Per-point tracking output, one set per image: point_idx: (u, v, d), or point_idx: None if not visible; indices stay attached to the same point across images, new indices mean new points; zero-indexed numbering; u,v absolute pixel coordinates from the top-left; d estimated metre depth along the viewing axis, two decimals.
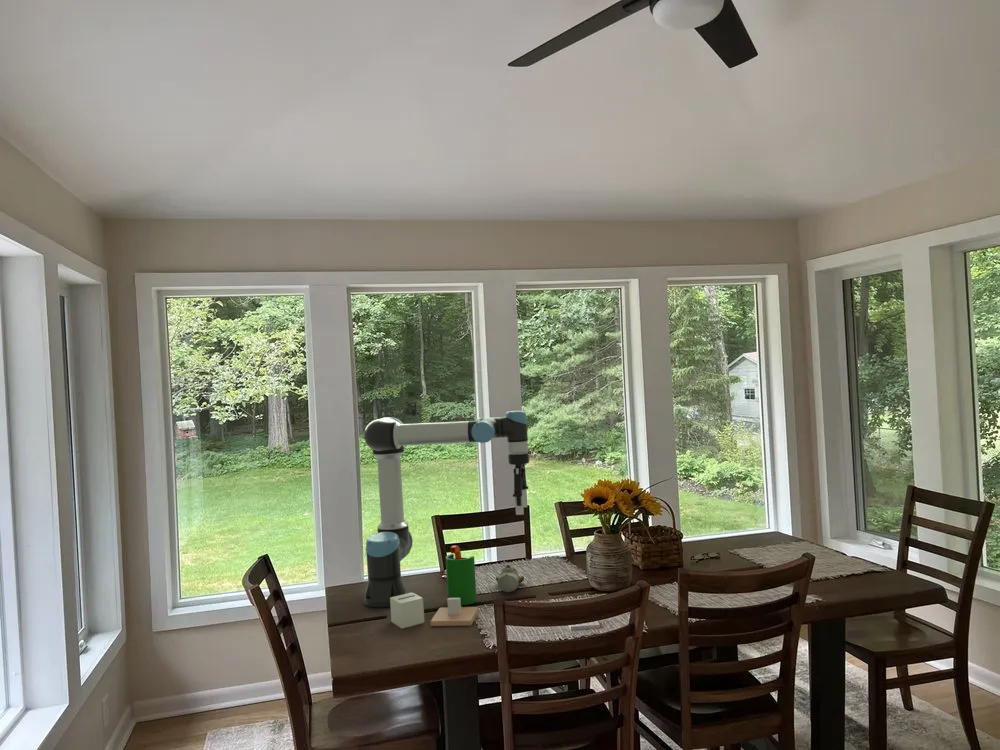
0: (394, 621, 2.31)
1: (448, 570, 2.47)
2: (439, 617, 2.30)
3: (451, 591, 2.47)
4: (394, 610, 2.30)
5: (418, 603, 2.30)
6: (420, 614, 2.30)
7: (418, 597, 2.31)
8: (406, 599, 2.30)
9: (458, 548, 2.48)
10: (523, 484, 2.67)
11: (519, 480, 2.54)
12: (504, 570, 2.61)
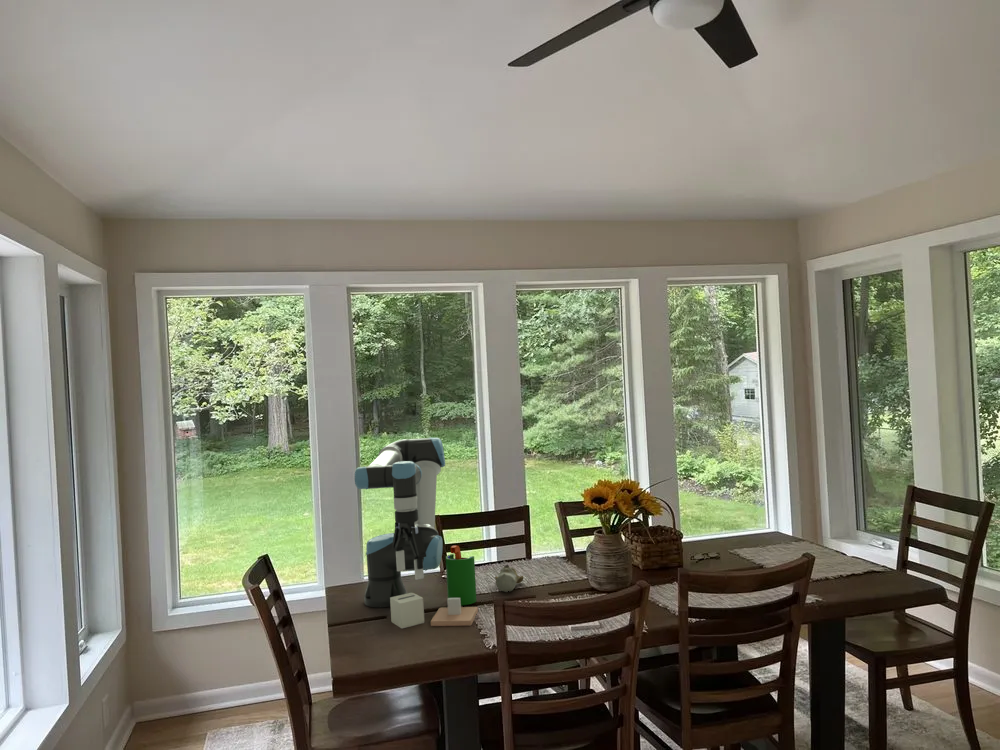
0: (394, 621, 2.31)
1: (448, 570, 2.47)
2: (439, 617, 2.30)
3: (451, 591, 2.47)
4: (394, 610, 2.30)
5: (418, 603, 2.30)
6: (420, 614, 2.30)
7: (418, 597, 2.31)
8: (406, 599, 2.30)
9: (458, 548, 2.48)
10: (402, 544, 2.38)
11: (420, 540, 2.26)
12: (502, 570, 2.61)
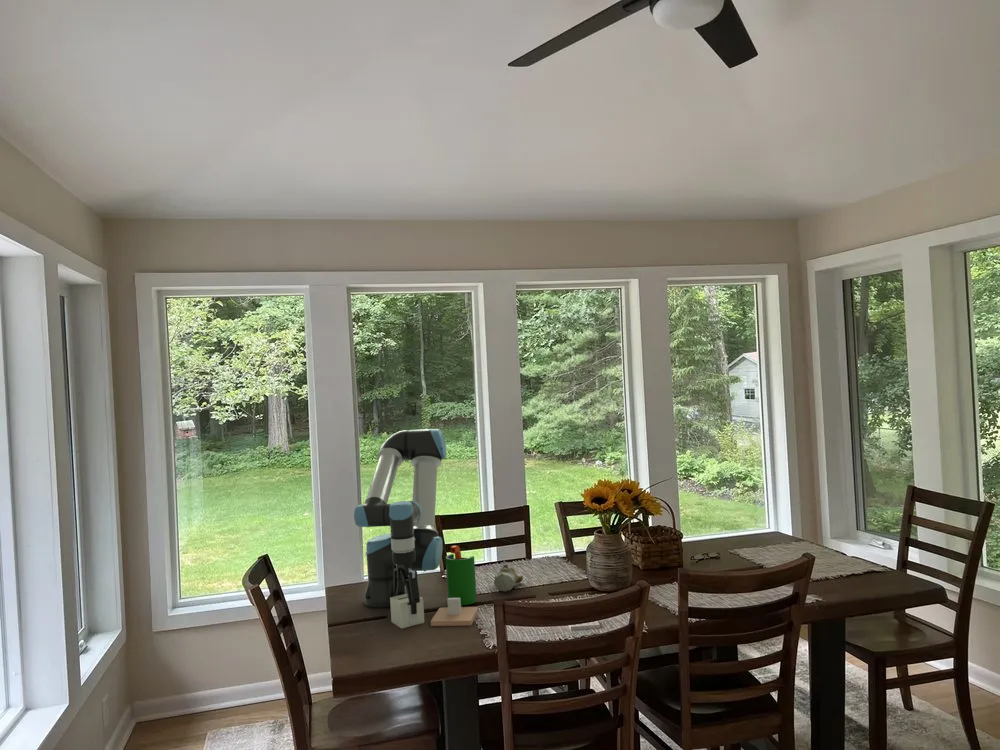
0: (394, 621, 2.31)
1: (448, 570, 2.47)
2: (439, 617, 2.30)
3: (451, 591, 2.47)
4: (394, 610, 2.30)
5: (418, 603, 2.30)
6: (420, 614, 2.30)
7: None
8: (406, 599, 2.30)
9: (458, 548, 2.48)
10: (402, 588, 2.35)
11: (416, 585, 2.26)
12: (501, 569, 2.62)
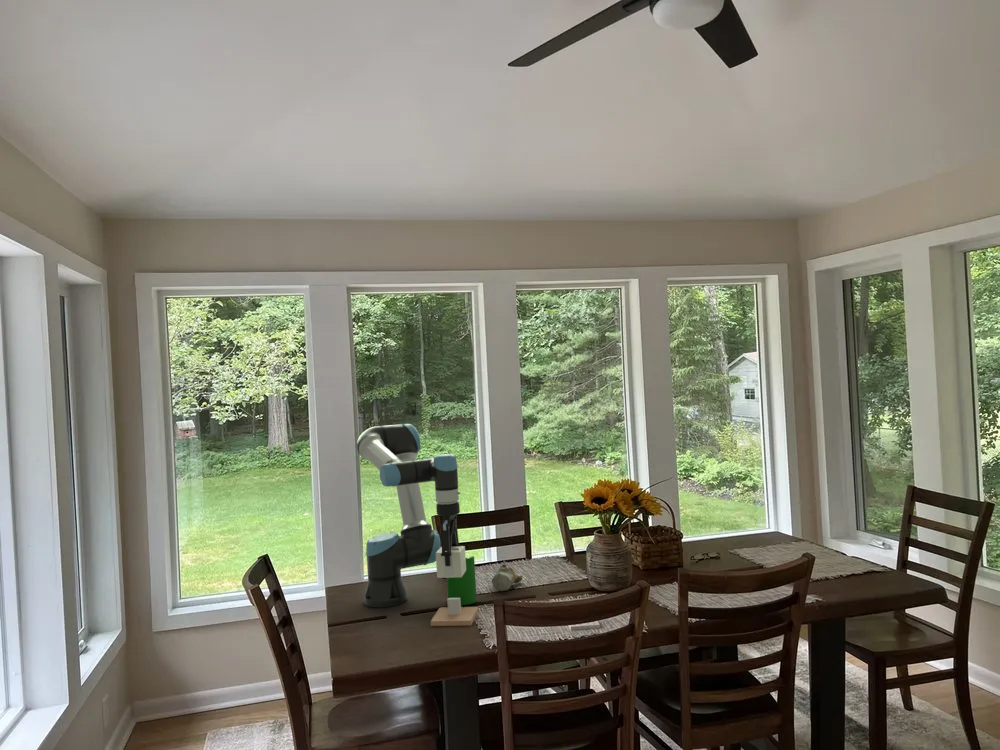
0: None
1: None
2: (439, 617, 2.30)
3: (451, 591, 2.47)
4: None
5: (454, 557, 2.28)
6: (457, 568, 2.28)
7: (458, 551, 2.30)
8: None
9: None
10: (454, 540, 2.36)
11: (447, 538, 2.26)
12: (499, 569, 2.62)
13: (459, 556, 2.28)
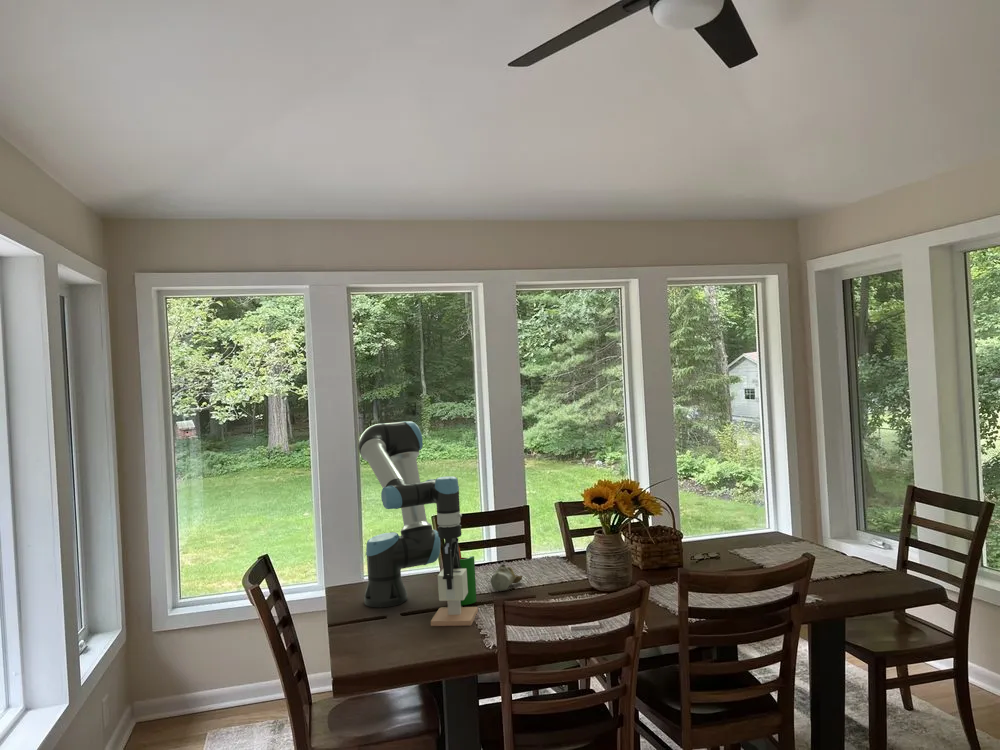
0: None
1: None
2: (439, 617, 2.30)
3: None
4: None
5: (456, 580, 2.28)
6: (459, 591, 2.28)
7: (460, 574, 2.30)
8: None
9: None
10: (455, 563, 2.36)
11: (449, 561, 2.26)
12: (498, 569, 2.63)
13: (461, 579, 2.28)
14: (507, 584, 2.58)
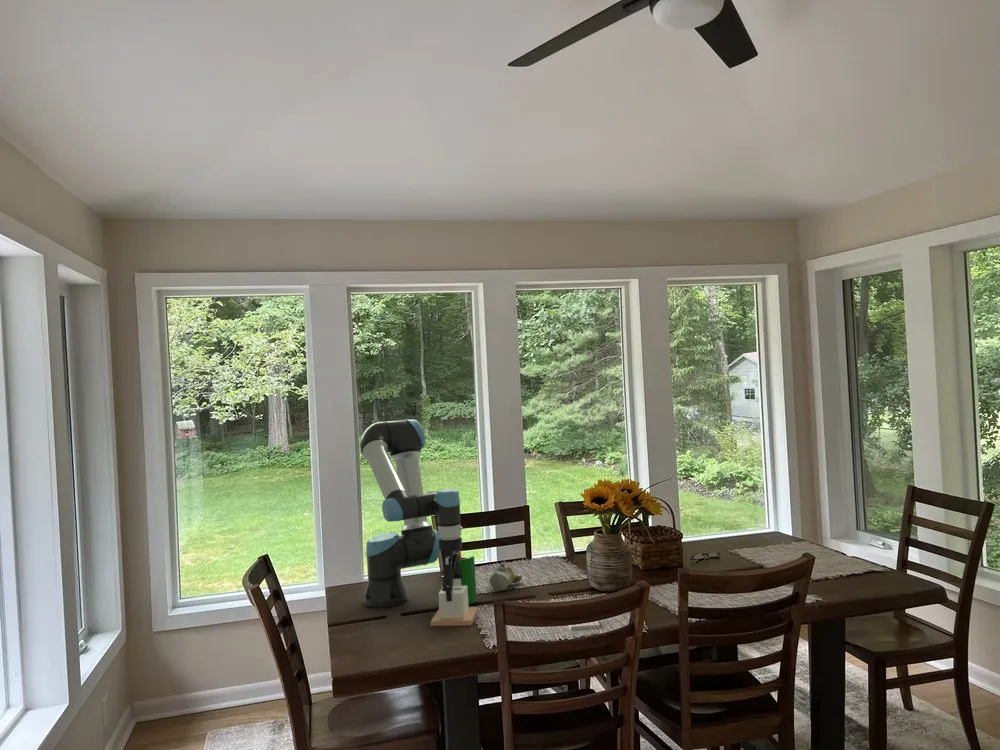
0: None
1: None
2: (439, 617, 2.30)
3: None
4: None
5: (457, 598, 2.28)
6: (460, 609, 2.28)
7: (460, 591, 2.30)
8: None
9: None
10: (457, 572, 2.37)
11: (449, 572, 2.25)
12: (497, 569, 2.63)
13: (462, 597, 2.28)
14: (506, 584, 2.58)
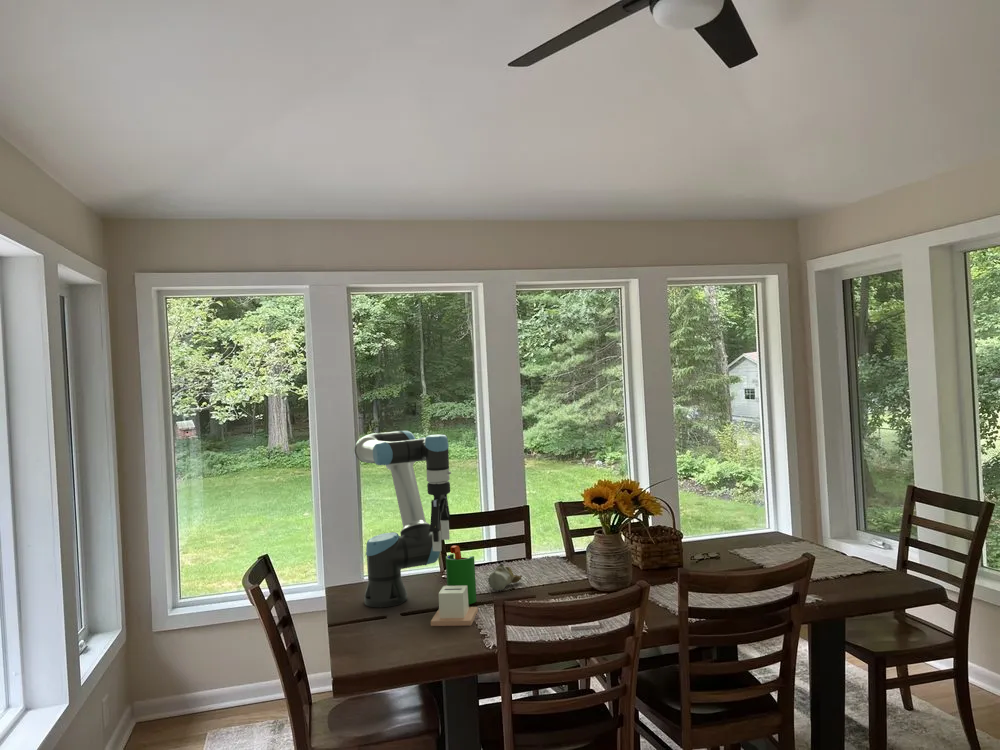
0: None
1: (448, 570, 2.47)
2: (439, 617, 2.30)
3: None
4: None
5: (457, 598, 2.28)
6: (460, 609, 2.28)
7: (460, 591, 2.30)
8: (449, 591, 2.31)
9: (458, 548, 2.48)
10: (445, 515, 2.43)
11: (436, 513, 2.29)
12: (496, 568, 2.64)
13: (462, 597, 2.28)
14: (504, 584, 2.59)
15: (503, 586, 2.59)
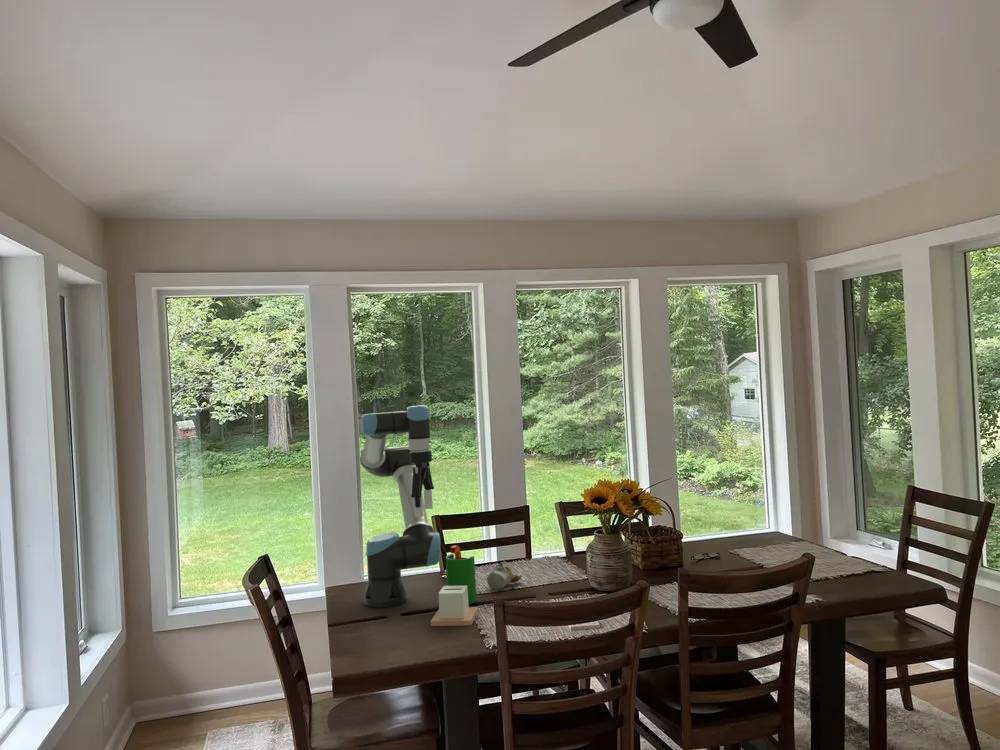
0: None
1: (448, 570, 2.47)
2: (439, 617, 2.30)
3: None
4: None
5: (457, 598, 2.28)
6: (460, 609, 2.28)
7: (460, 591, 2.30)
8: (449, 591, 2.31)
9: (458, 548, 2.48)
10: (428, 484, 2.50)
11: (418, 480, 2.37)
12: (495, 568, 2.64)
13: (462, 597, 2.28)
14: (502, 583, 2.59)
15: (502, 586, 2.59)
